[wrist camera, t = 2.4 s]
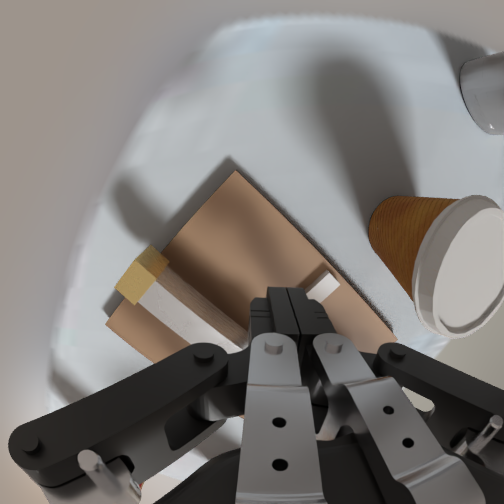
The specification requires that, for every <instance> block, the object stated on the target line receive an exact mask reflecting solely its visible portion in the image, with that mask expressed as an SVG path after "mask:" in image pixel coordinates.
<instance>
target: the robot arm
mask: <svg viewBox="0 0 504 504" xmlns="http://www.w3.org/2000/svg"><path fill="white" fill-rule="evenodd" d="M460 84H461V90H462V94H463V97H464V101H465V103H466V106H467V108H468V110H469V112H470V114H471V116H472V117H473V119H474V121H475V122H476V123H477V125H478V126H479V127H480V128H481V129H482V130H483V131H485V132H486V133H488V134H492V135H504V52H500V53H496V54H492V55H488V56H485V57H481V58H478V59H475V60H471V61H468V62H466V63H465V64H464V65H463V67H462V69H461V74H460ZM402 387H405V388H407V389H409V390H411V391H413V392H415V393H417V394H419V395H421V396H423V397H425V398H427V399H430V400H431V401H432V402H433V403H434V405H435V406H434V408H433V409H432V410H430V411H428V412H423V411H421V410H419V409H417V408H415V407H414V406H413V404H412V403H411V402H410V400H409V399H408V397H407V396H406V395H405V393H404V392H403V390H402ZM241 415H244V424H243V434H242V443H241V448H239V449H235V450H232V451H228V452H226V453H223V454H221V455H219V456H217V457H215V458H213V459H211V460H210V461H208V462H206V463H205V464H204V465H202V466H201V467H200V468H199V469H198V470H196V471H195V472H194V473H193V474H191V475H190V476H189V477H188V478H187V479H185V480H184V481H183V482H182V483H180V484H179V485H178V486H176V487H175V488H174V489H172V490H171V491H170V492H168V493H167V494H166V495H164V496H163V497H162V498H161V499H159V500H158V501H156V502H155V503H153V504H504V390H502V389H499V388H497V387H495V386H493V385H491V384H488V383H485V382H484V381H481V380H479V379H477V378H475V377H472V376H470V375H468V374H466V373H463V372H461V371H459V370H457V369H454V368H452V367H450V366H448V365H446V364H444V363H441V362H439V361H437V360H435V359H433V358H431V357H428V356H426V355H424V354H422V353H420V352H418V351H415V350H413V349H411V348H409V347H407V346H405V345H402V344H399V343H394V342H388V343H384V344H382V345H381V346H380V347H379V349H378V351H377V354H374V353H367V352H361V351H358V350H357V348H356V347H355V345H354V344H353V343H352V341H351V340H350V339H348V338H347V337H345V336H342V335H339V334H337V332H336V330H335V328H334V326H333V324H332V322H331V320H330V319H329V317H328V315H327V313H326V311H325V309H324V307H323V305H322V304H320V303H319V302H318V301H316V300H315V299H308V297H307V295H306V293H305V290H304V288H294V287H286V288H285V287H269V286H268V287H267V293H266V298H260V297H255V298H254V299H253V300H252V301H251V303H250V311H249V325H248V347H247V348H245V349H244V350H242V351H239V352H236V353H231V354H227V352H226V350H225V349H223V348H222V347H221V346H218V345H216V344H213V343H206V342H201V343H194V344H191V345H189V346H187V347H185V348H183V349H181V350H179V351H178V352H176V353H174V354H172V355H170V356H168V357H166V358H164V359H162V360H161V361H159V362H157V363H155V364H153V365H151V366H149V367H147V368H145V369H143V370H141V371H139V372H137V373H135V374H133V375H131V376H129V377H127V378H125V379H123V380H121V381H119V382H117V383H115V384H113V385H111V386H109V387H107V388H105V389H103V390H101V391H98V392H96V393H94V394H92V395H90V396H88V397H86V398H83V399H81V400H79V401H77V402H75V403H72V404H70V405H68V406H66V407H63V408H61V409H59V410H56V411H54V412H52V413H49V414H47V415H45V416H42V417H40V418H37V419H35V420H32V421H30V422H27V423H25V424H23V425H20V426H19V427H17V428H16V429H15V430H14V431H13V433H12V434H11V436H10V438H9V443H8V448H9V453H10V455H11V457H12V459H13V460H14V461H15V463H16V464H17V465H18V466H19V467H20V468H21V469H23V470H24V471H25V472H26V473H27V474H28V475H29V477H30V478H31V479H32V480H33V481H34V482H35V483H36V484H37V485H38V486H39V487H40V488H41V489H42V491H43V492H44V494H45V496H46V498H47V500H48V501H49V503H50V504H139V502H140V500H141V490H140V487H139V485H140V484H141V483H143V482H144V481H146V480H147V479H149V478H150V477H152V476H154V475H155V474H157V473H158V472H160V471H161V470H163V469H164V468H166V467H167V466H169V465H170V464H172V463H173V462H175V461H176V460H177V459H179V458H180V457H182V456H183V455H184V454H186V453H187V452H189V451H190V450H191V449H193V448H194V447H195V446H197V445H198V444H199V443H201V442H202V441H203V440H205V439H206V438H207V437H208V436H210V435H211V434H212V433H213V432H215V431H216V430H217V429H218V428H220V427H221V426H222V425H223V424H224V423H225V422H226V420H227V418H231V417H236V416H241Z"/></svg>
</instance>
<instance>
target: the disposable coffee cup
mask: <svg viewBox="0 0 504 504" xmlns="http://www.w3.org/2000/svg"><path fill="white" fill-rule="evenodd" d="M369 241H370V244H371V246H372V248H373V250H374V251H375V253H376V254H377V255H378V256H379V257H380V259H381V260H382V261H383V262H384V264H385V265H386V266H387V268H388V269H389V270H390V271H391V273H392V274H393V275H394V277H395V278H396V279H397V281H398V282H399V283H400V285H401V286H402V287H403V289H404V290H405V291H406V293H407V294H408V295H409V297H410V298H411V300H412V301H413V302H414V305H415V310H416V313H417V316H418V318H419V320H420V322H421V323H422V325H423V326H424V327H425V328H426V329H427V330H429V331H430V332H432V333H434V334H439V335H444V336H446V337H449V338H452V339H456V338H463V337H466V336H468V335H471V334H472V333H474V332H475V331H477V330H478V329H480V328H481V327H482V326H484V325H485V324H486V323H487V322H488V321H489V320H490V319H491V317H492V316H493V315H494V314H495V312H496V311H497V310H498V308H499V307H500V305H501V304H502V302H503V300H504V211H502V210H501V209H500V208H499V206H498V205H497V204H496V203H495V202H494V201H493V200H492V199H490V198H488V197H486V196H481V195H471V196H468V197H464V198H462V199H447V198H429V197H409V196H393V197H390V198H388V199H386V200H384V201H383V202H382V203H381V204H380V205H379V206H378V207H377V208H376V209H375V211H374V213H373V215H372V217H371V220H370V223H369Z"/></svg>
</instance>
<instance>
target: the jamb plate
mask: <svg viewBox="0 0 504 504" xmlns="http://www.w3.org/2000/svg"><path fill="white" fill-rule="evenodd" d="M161 254H162V255H163V256H164V257H165V258H166V259H167V260H168V261H170V262H169V263H168V265H167V266H168V267H170V268H171V269H172V270H173V271H174V272H175V273H176V274H178V275H179V276H180V277H181V278H182V279H183V280H185V281H186V282H187V283H188V284H189V285H190V286H192V287H193V288H194V289H195V290H196V291H198V292H199V293H200V294H201V295H202V296H204V297H205V298H206V299H207V300H208V301H210V302H211V303H212V304H213V305H214V306H216V307H217V308H218V309H219V310H221V311H222V312H223V313H224V314H226V315H227V316H228V317H229V318H231V319H232V320H233V321H234V322H236V323H237V324H238V325H240V326H241V327H242V328H243V329H245V330H246V331H247V332H248V325H249V311H250V303H251V301H252V300H253V299H254V298H255V297H260V298H266V293H267V287H268V286H269V287H285V288H286V287H294V288H304V290H305V293H306V295H307V297H308V299H315V300H316V301H318V302H319V303H320V304H322V305H323V307H324V309H325V311H326V313H327V315H328V317H329V319H330V320H331V322H332V324H333V326H334V328H335V330H336V332H337V334H339V335H342V336H345V337H347V338H348V339H350V340H351V341H352V343H353V344H354V345H355V347H356V348H357V350H358V351H361V352H367V353H374V354H377V351H378V349H379V347H380V346H381V345H382V344H384V343H388V342H396V341H397V340H398V339H397V338H396V336H395V335H394V334H393V333H392V331H391V330H390V329H389V328H388V327H387V326H386V324H385V323H384V322H383V321H382V320H381V319H380V318H379V316H378V315H377V314H376V313H375V312H374V311H373V310H372V309H371V307H370V306H369V305H368V304H367V303H366V302H365V301H364V300H363V299H362V297H361V296H360V295H359V294H358V293H357V292H356V291H355V290H354V289H353V288H352V286H351V285H350V284H349V283H348V282H347V281H346V280H345V279H344V278H343V277H342V276H341V275H340V273H339V272H338V271H337V270H336V269H335V268H334V267H333V266H332V265H331V264H330V263H329V262H328V261H327V260H326V259H325V258H324V257H323V255H322V254H321V253H320V252H319V251H318V250H317V249H316V248H315V247H314V246H313V245H312V244H311V243H310V242H309V241H308V240H307V239H306V238H305V237H304V236H303V235H302V234H301V233H300V232H299V231H298V230H297V229H296V228H295V227H294V226H293V225H292V224H291V223H290V222H289V221H288V220H287V219H286V218H285V217H284V216H283V215H282V214H281V213H280V212H279V211H278V210H277V209H276V208H275V207H274V206H273V205H272V204H271V203H270V202H269V201H268V200H267V199H266V198H265V197H264V196H263V195H262V194H261V193H260V192H259V191H258V190H257V189H256V188H254V187H253V186H252V185H251V184H250V183H249V182H248V181H247V180H246V179H245V178H244V177H243V176H242V175H241V174H240V173H239V172H238V171H236V170H235V171H234V172H233V173H232V174H231V175H230V177H229V178H228V179H227V180H226V181H225V182H224V183H223V184H222V185H221V186H220V187H219V188H218V189H217V190H216V191H215V192H214V193H213V195H212V196H211V197H210V198H209V199H208V200H207V201H206V202H205V203H204V204H203V205H202V206H201V208H200V209H199V210H198V211H197V212H196V213H195V214H194V215H193V216H192V218H191V219H190V220H189V221H188V222H187V223H186V224H185V226H184V227H183V228H182V229H181V230H180V231H179V232H178V234H177V235H176V236H175V237H174V238H173V239H172V240H171V242H170V243H169V244H168V245H167V246H166V248H165V249H164V250H163V251H162V252H161ZM105 325H106V326H107V327H109V328H110V329H111V330H112V331H113V332H115V333H116V334H117V335H118V336H119V337H121V338H122V339H123V340H124V341H126V342H127V343H128V344H129V345H131V346H132V347H133V348H134V349H136V350H137V351H138V352H140V353H141V354H142V355H144V356H145V357H146V358H148V359H149V360H150V361H152V362H153V363H154V364H155V363H157V362H159V361H161V360H162V359H164V358H166V357H168V356H170V355H172V354H174V353H176V352H178V351H179V350H181V349H183V348H185V347H187V346H189V345H191V344H190V343H189V342H187V341H186V340H185V339H183V338H182V337H181V336H179V335H178V334H177V333H175V332H174V331H173V330H172V329H170V328H169V327H168V326H166V325H165V324H164V323H163V322H161V321H160V320H159V319H158V318H157V317H155V316H154V315H153V314H152V313H150V312H149V311H148V310H147V309H146V308H144V307H143V306H142V305H141V304H140V303H139V302H137V303H136V304H135V305H134V304H132V303H131V302H130V301H129V300H128V299H127V298H124V300H123V301H122V302H121V304H120V305H119V306H118V307H117V309H116V310H115V311H114V313H113V314H112V315H111V317H110V318H109V320H108V321H107V322H106V324H105ZM239 417H241V418H243V419H244V415H241V416H239Z"/></svg>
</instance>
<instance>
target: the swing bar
mask: <svg viewBox="0 0 504 504" xmlns="http://www.w3.org/2000/svg"><path fill="white" fill-rule="evenodd" d="M169 262H170V261H168V260H167V259H166V258H165V257H164V256H163V255H162V254H161V253H159V252H158V251H157V250H156V249H155V248H154V247H153V246H152V245H150V246H149V247H148V248H147V249H146V250H145V251H144V252H142V253H141V254H140V255H139V256H138V257H137V258H136V259H135V260H134V261H133V263H132V264H131V265H130V267H129V268H128V269H127V271H126V272H125V273H124V275H123V276H122V277H121V279H120V280H119V281H118V283H117V284H116V286H115V287H114V288H115V289H117V290H118V291H119V292H120V293H121V294H122V295H123V296H124V297H125V298H127V299H128V300H129V301H130V302H131V303H132V304H134V305H135V304H136V303H137V302H139V303H140V304H141V305H142V306H143V307H144V308H146V309H147V310H148V311H149V312H150V313H152V314H153V315H154V316H155V317H157V318H158V319H159V320H160V321H161V322H163V323H164V324H165V325H166V326H168V327H169V328H170V329H172V330H173V331H174V332H175V333H177V334H178V335H179V336H181V337H182V338H183V339H185V340H186V341H187V342H189V343H190V344H194V343H201V342H206V343H213V344H216V345H218V346H221V347H222V348H223V349H225V350H226V352H227V354H231V353H236V352H239V351H242V350H244V349H245V348H247V347H248V332H247V331H246V330H245V329H243V328H242V327H241V326H240V325H238V324H237V323H236V322H234V321H233V320H232V319H231V318H229V317H228V316H227V315H226V314H224V313H223V312H222V311H221V310H219V309H218V308H217V307H216V306H214V305H213V304H212V303H211V302H210V301H208V300H207V299H206V298H205V297H204V296H202V295H201V294H200V293H199V292H198V291H196V290H195V289H194V288H193V287H192V286H190V285H189V284H188V283H187V282H186V281H185V280H183V279H182V278H181V277H180V276H179V275H178V274H176V273H175V272H174V271H173V270H172V269H171V268H170V267H168V266H167V265H168V263H169Z"/></svg>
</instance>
